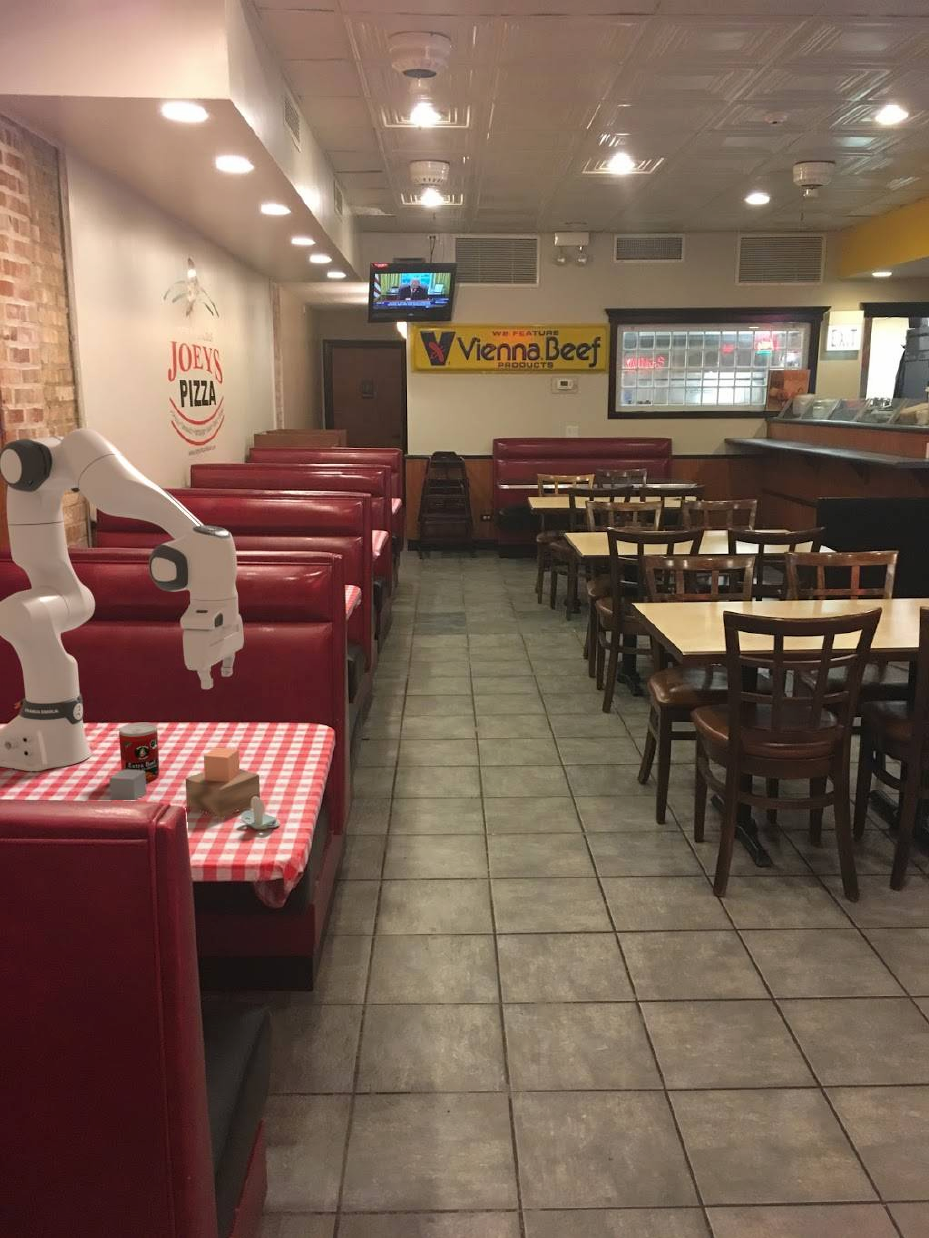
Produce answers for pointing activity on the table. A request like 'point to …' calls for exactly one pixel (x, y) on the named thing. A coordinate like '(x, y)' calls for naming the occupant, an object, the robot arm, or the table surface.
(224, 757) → the terracotta cube
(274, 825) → the pacifier
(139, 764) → the canned food
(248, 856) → the table surface
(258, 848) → the table surface
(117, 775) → the gray metal cube
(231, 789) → the walnut block
